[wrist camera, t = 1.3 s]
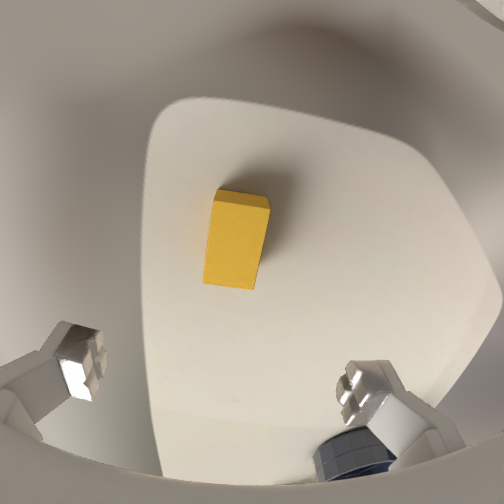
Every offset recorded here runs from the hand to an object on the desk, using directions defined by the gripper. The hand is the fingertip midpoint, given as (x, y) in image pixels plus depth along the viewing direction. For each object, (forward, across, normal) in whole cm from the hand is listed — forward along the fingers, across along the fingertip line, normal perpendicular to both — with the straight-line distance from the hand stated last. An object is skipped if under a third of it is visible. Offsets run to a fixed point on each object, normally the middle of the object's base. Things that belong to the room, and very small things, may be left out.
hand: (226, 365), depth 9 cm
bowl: (+11, -20, +26) cm, 35 cm away
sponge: (+11, 0, 0) cm, 11 cm away
